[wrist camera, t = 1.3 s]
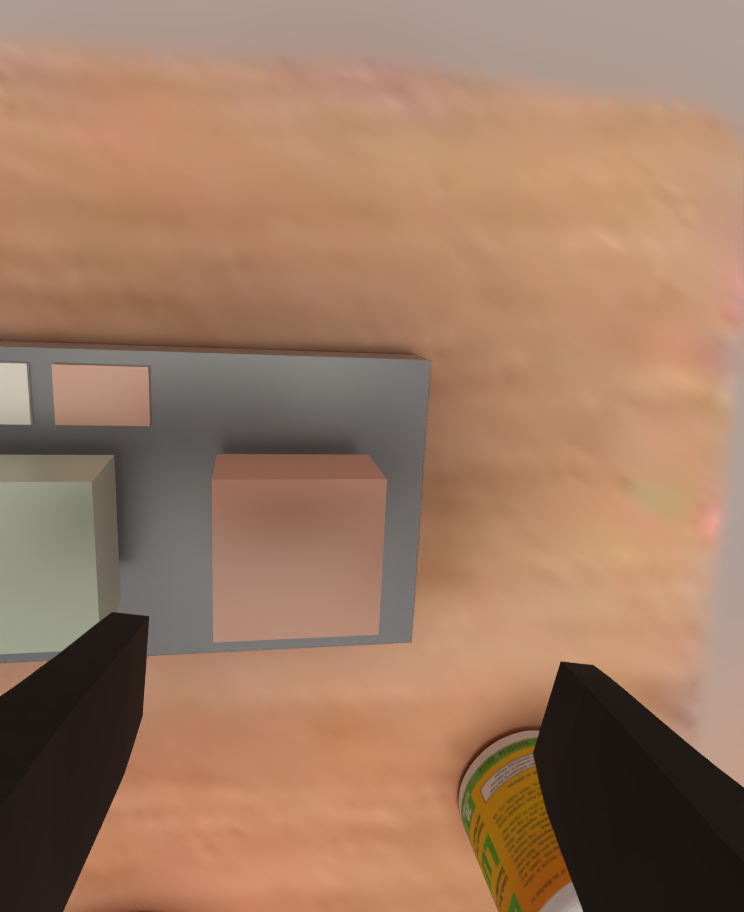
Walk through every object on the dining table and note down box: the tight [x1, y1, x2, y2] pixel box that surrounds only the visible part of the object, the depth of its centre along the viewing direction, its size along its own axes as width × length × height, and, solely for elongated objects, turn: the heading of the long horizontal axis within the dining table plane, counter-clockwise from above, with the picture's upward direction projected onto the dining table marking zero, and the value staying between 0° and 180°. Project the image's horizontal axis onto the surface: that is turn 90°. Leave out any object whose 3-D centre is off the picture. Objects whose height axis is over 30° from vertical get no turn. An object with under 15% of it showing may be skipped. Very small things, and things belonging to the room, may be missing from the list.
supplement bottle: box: [459, 730, 583, 912], centre depth 21 cm, size 5×5×10 cm
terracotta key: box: [212, 454, 387, 643], centre depth 17 cm, size 4×4×2 cm
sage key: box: [0, 455, 121, 654], centre depth 16 cm, size 4×4×2 cm
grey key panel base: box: [0, 341, 431, 663], centre depth 19 cm, size 21×9×2 cm, turn 87°
